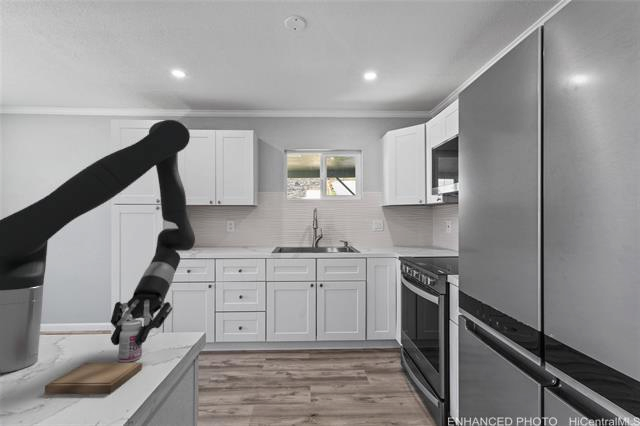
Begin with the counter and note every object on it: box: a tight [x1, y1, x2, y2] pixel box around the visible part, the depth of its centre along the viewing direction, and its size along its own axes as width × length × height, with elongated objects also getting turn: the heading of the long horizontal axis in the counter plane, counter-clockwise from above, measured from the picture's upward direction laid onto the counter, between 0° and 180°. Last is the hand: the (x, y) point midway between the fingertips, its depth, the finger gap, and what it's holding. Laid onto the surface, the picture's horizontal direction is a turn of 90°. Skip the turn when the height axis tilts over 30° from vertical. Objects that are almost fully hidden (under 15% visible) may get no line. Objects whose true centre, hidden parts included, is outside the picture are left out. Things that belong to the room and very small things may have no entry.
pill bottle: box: [117, 319, 143, 363], centre depth 72 cm, size 5×5×8 cm
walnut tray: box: [43, 362, 143, 395], centre depth 61 cm, size 12×10×2 cm
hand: (126, 343), depth 70 cm, fingers closed on pill bottle, 4 cm apart
